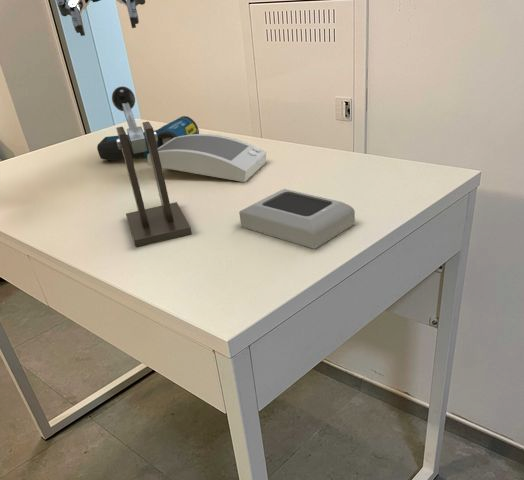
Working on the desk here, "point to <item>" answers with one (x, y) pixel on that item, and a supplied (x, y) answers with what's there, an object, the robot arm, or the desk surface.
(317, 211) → the grey flat block
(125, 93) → the latch lever
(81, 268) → the desk surface
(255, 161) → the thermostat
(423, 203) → the desk surface
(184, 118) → the infrared thermometer
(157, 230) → the latch bracket
